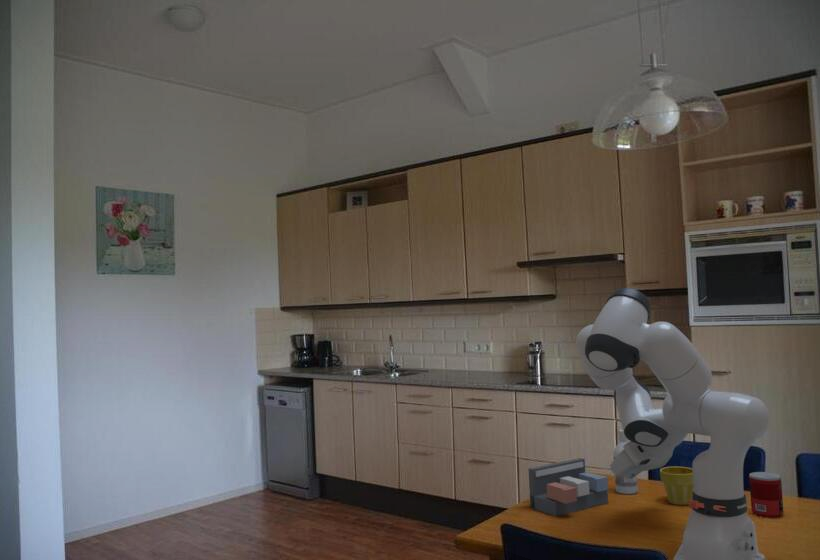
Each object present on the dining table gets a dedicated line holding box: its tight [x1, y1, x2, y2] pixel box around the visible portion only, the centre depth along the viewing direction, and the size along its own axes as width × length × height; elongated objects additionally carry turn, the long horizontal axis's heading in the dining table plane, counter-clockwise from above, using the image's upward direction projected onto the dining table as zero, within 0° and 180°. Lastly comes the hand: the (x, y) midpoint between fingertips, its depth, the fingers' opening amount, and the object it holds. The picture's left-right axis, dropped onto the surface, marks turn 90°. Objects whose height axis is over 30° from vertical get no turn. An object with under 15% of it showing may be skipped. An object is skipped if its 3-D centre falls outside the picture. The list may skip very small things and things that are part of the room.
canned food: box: [748, 471, 784, 519], centre depth 187 cm, size 8×8×11 cm
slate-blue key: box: [578, 471, 609, 492], centre depth 205 cm, size 8×5×4 cm, turn 31°
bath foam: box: [613, 429, 639, 495], centre depth 215 cm, size 7×7×20 cm
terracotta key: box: [547, 482, 577, 504], centre depth 195 cm, size 8×5×4 cm, turn 31°
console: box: [528, 457, 609, 518], centre depth 203 cm, size 11×22×12 cm, turn 121°
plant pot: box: [659, 465, 694, 506], centre depth 201 cm, size 10×10×10 cm
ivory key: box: [560, 476, 590, 497], centre depth 201 cm, size 8×5×4 cm, turn 31°
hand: (628, 476), depth 194 cm, fingers closed
